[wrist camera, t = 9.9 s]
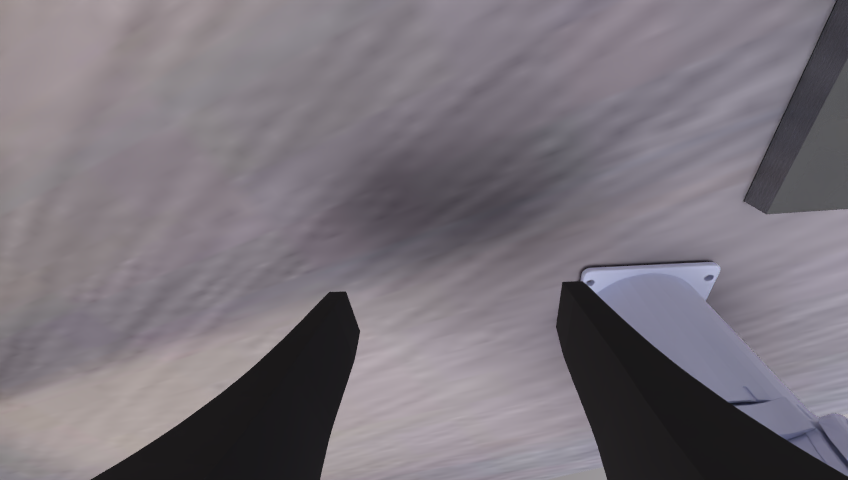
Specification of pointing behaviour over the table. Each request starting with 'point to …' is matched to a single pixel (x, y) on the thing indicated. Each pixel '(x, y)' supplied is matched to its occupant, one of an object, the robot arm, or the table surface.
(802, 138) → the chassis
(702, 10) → the table surface
